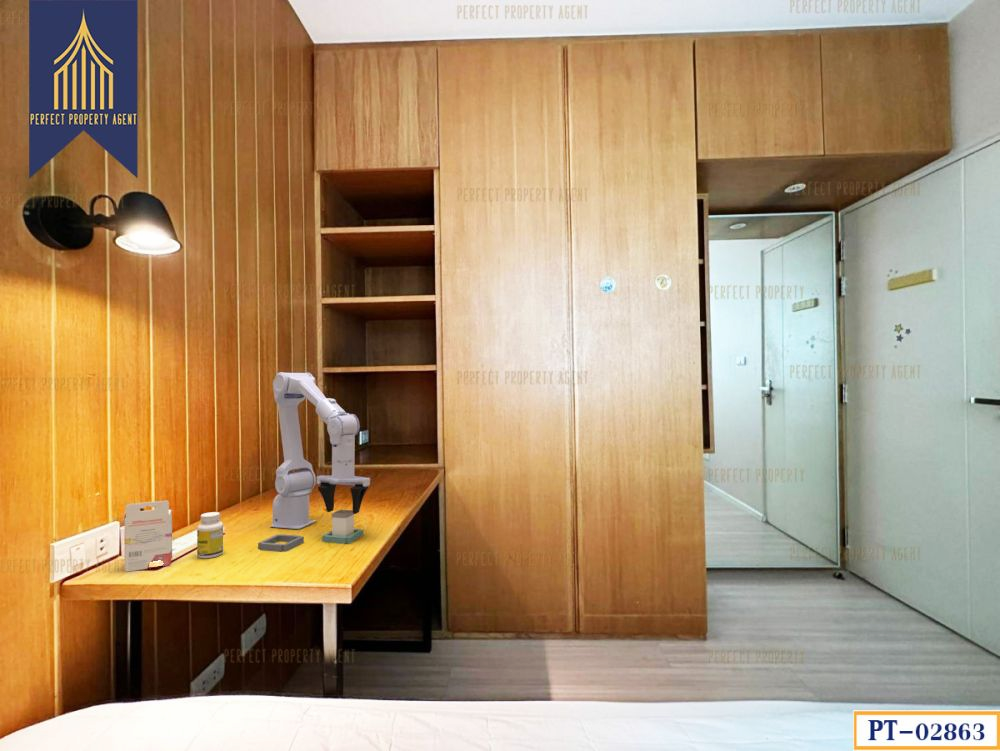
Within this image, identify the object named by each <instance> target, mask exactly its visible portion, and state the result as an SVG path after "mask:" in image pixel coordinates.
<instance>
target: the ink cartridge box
mask: <svg viewBox="0 0 1000 751" xmlns="http://www.w3.org/2000/svg"><path fill="white" fill-rule="evenodd" d="M147 507H149V508H154V509H146V510H141V509H144V508H147ZM169 507H170V502H169V500H159V501H148V502H147V501H146V502H138V503H137V502H136V503H128V504H126V505H125V518H124V520H123V521H124V522H123V524H124V528H123V529H124V530H123V531H124V535H123V536H124V572H125V573H127V572H133V571H134V572H135V571H142V570H149V569H150V568H149V566H148V564H149V563H150V562H153V561H158V560H161V561H163V563H164V564H163V567H168V566H170V565H171V563H172V561H171V558H172V559H173V517H172V515H173V514H172V512H173V510H172V509H170V508H169ZM148 568H149V569H148Z"/></svg>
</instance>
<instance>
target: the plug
mask: <svg viewBox="0 0 1000 751" xmlns="http://www.w3.org/2000/svg"><path fill="white" fill-rule="evenodd" d="M354 529H355V514H353V509H352V510H351V509H339V510H336V511H334V512H332V513H331V531H332V536H344V537H348V536H350V535H351V534H353V533H354Z"/></svg>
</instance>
